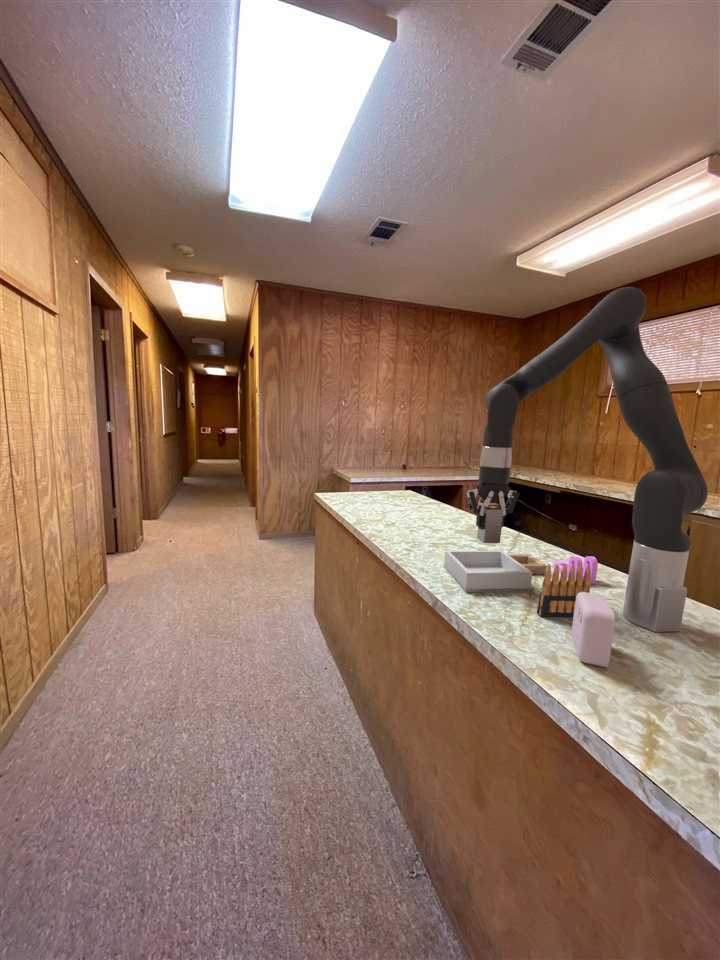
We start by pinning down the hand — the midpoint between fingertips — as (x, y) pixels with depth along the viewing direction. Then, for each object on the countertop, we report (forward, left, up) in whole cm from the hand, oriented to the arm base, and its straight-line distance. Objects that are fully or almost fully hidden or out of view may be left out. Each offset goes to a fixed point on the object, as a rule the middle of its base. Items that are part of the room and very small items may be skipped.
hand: (489, 528), depth 100 cm
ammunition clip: (-20, -9, -14) cm, 26 cm away
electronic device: (-33, -5, -14) cm, 36 cm away
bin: (0, 0, -14) cm, 14 cm away
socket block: (+7, -15, -14) cm, 22 cm away
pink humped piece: (+3, -27, -14) cm, 31 cm away
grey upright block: (0, 0, -3) cm, 3 cm away
